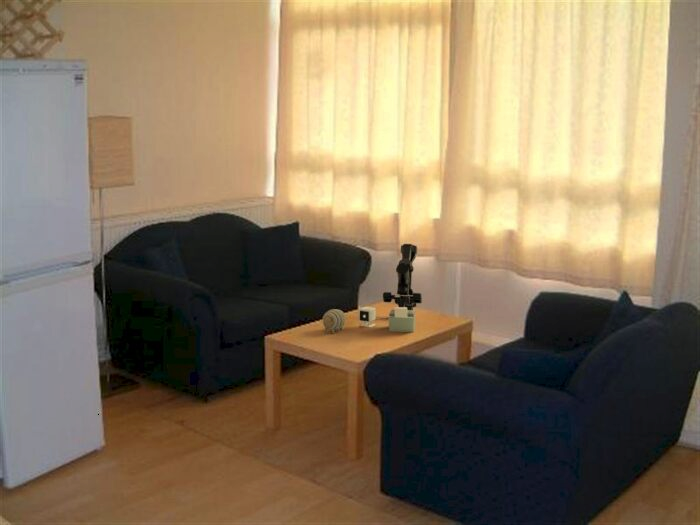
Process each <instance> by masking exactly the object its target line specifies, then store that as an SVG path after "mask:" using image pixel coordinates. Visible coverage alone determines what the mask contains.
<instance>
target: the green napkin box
mask: <svg viewBox="0 0 700 525" xmlns="http://www.w3.org/2000/svg"><path fill="white" fill-rule="evenodd" d="M389 316H395V309H391V310H390V312H389V315H388V317H389ZM407 317H414V330H415V328H416V311H415V310H414V309H413V310H407Z"/></svg>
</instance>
